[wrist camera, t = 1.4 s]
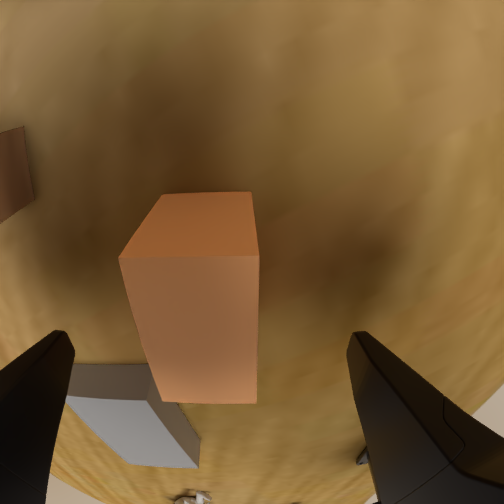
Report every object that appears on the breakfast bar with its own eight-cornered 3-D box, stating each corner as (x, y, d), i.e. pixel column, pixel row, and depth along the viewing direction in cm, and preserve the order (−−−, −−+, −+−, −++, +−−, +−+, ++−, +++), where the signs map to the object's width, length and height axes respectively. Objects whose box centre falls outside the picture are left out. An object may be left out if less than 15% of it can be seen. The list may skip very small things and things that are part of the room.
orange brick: (250, 314, 14) (256, 403, 10) (180, 315, 14) (162, 401, 10) (251, 190, 11) (259, 255, 7) (162, 193, 11) (117, 257, 7)
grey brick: (200, 436, 21) (198, 468, 18) (134, 434, 21) (128, 463, 18) (155, 359, 16) (146, 400, 13) (75, 359, 16) (59, 394, 14)
